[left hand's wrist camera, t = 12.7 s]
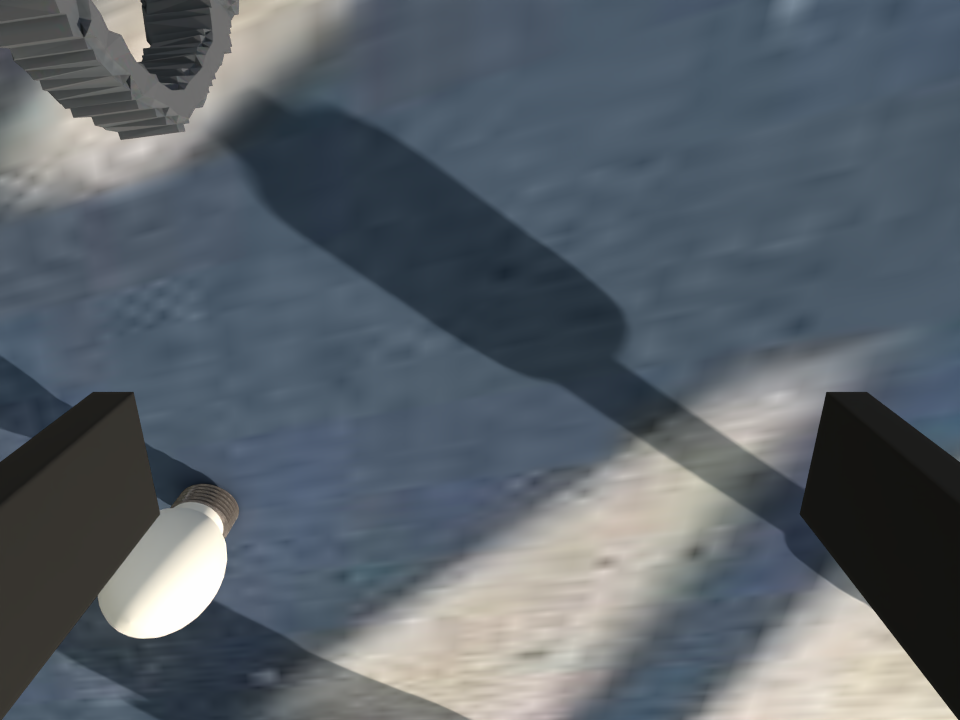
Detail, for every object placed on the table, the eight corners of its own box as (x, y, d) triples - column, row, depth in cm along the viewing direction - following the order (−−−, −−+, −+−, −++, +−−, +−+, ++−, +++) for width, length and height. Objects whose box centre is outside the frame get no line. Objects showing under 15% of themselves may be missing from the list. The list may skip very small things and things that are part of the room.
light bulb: (267, 483, 45) (205, 596, 35) (242, 556, 47) (177, 682, 37) (171, 451, 44) (78, 557, 34) (150, 527, 47) (58, 647, 36)
